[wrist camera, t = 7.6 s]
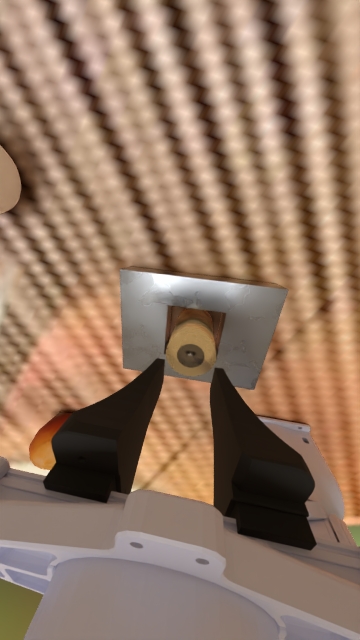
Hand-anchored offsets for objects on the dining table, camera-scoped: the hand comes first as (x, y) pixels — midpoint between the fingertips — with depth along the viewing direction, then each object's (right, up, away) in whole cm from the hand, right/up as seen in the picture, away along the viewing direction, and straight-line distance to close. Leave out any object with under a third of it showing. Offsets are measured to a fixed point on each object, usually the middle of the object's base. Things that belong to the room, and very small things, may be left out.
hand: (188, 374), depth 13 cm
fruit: (-20, -15, +19) cm, 31 cm away
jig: (+1, +3, +9) cm, 9 cm away
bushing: (+1, +3, +9) cm, 9 cm away
